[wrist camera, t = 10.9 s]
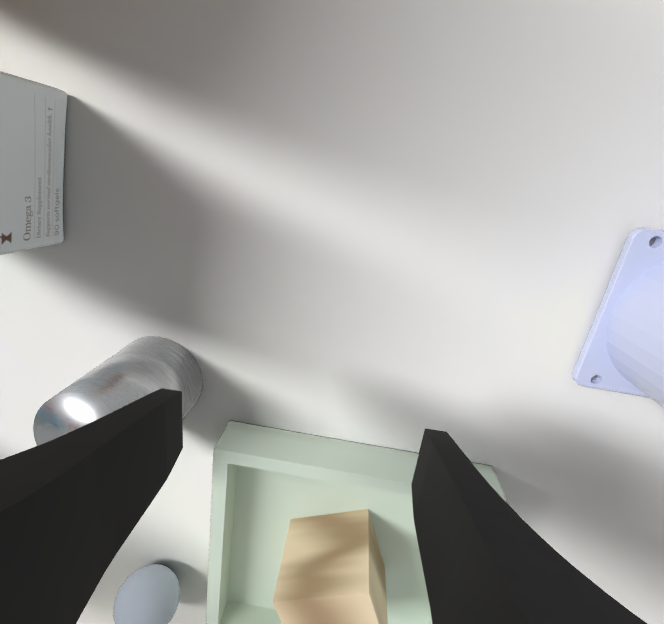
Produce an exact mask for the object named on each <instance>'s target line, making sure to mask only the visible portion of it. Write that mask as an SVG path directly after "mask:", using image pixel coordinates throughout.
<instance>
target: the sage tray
mask: <svg viewBox="0 0 664 624" xmlns="http://www.w3.org/2000/svg"><path fill="white" fill-rule="evenodd" d="M418 455H419V453H414V452H408V451H402V450H396V449H391V448H385V447H379V446H373V445H367V444H361V443H356V442H350V441H344V440H338V439H332V438H327V437H321V436H315V435H309V434H303V433H298V432H292V431H286V430H280V429H274V428H269V427H263V426H257V425H251V424H245V423H240V422H234V421H229V422H228V424H227V426H226V428H225V430H224V431H223V433H222V435H221V437H220V438H219V440H218V442H217V444H216V445H215V447H214V452H213V474H212V496H211V519H210V541H209V564H208V586H207V609H206V624H282V623H281V621H280V618H279V616H278V614H277V611H276V609H275V606H274V604H273V598H274V593H275V588H276V584H277V579H278V575H279V570H280V566H281V561H282V556H283V552H284V547H285V543H286V538H287V534H288V529H289V524H290V520H291V519H295V518H303V517H310V516H318V515H326V514H333V513H341V512H349V511H356V510H364V509H368V510H369V514H370V517H371V521H372V524H373V528H374V531H375V535H376V538H377V542H378V545H379V549H380V552H381V556H382V559H383V563H384V566H385V578H386V598H387V617H388V624H432V617H431V610H430V604H429V599H428V594H427V588H426V583H425V578H424V573H423V567H422V562H421V557H420V551H419V546H418V541H417V535H416V530H415V524H414V517H413V504H412V486H411V484H412V480H413V476H414V472H415V468H416V464H417V459H418ZM471 463H472V462H471ZM472 464H473V465H474V466H475V468H476V469H477V470H478V471H479V472H480V474H481V475H482V476H483V477H484V478H485V479H486V481H487V482H488V483H489V484H490V485H491V486H492V487H493V489H494V490H495V491H496V492H497V493H498V494H499V495H500V496H501V497H502V499H503V500H504V501H505V502H507V499H506V497H505V494H504V492H503V490H502V488H501V485H500V483H499V481H498V479H497V476H496V474H495V472H494V470H493V467H492V466H489V465H483V464H478V463H472Z"/></svg>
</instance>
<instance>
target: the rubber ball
mask: <svg viewBox="0 0 664 624" xmlns="http://www.w3.org/2000/svg"><path fill="white" fill-rule="evenodd" d="M179 597H180V586H179V582H178V579H177V577H176V575H175V574H174V572H173V571H172V570H171V569H169V568H168V567H166V566H163V565H159V564H152V565H147V566H144V567H142V568H140V569H138V570H136V571H135V572H134V573H132V574H131V575H130V576H129V577H128V578H127V579H126V580H125V581H124V583H123V584H122V586H121V587H120V589H119V591H118V593H117V596H116V598H115V602H114V608H113V616H114V621H115V624H168V623H169V621H170V620H171V618H172V617H173V615H174V613H175V611H176V609H177V606H178V603H179Z"/></svg>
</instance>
